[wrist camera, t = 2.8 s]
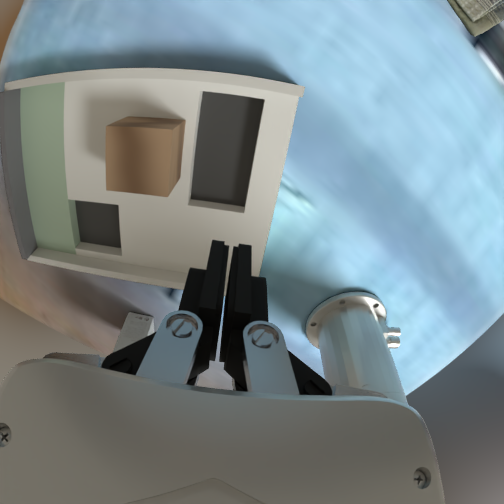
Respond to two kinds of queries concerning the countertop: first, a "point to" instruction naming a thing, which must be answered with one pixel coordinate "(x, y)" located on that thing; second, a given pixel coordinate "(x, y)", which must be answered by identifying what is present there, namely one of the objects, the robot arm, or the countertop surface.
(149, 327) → the skincare box
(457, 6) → the dish towel
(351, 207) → the countertop surface
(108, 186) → the block
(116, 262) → the box
